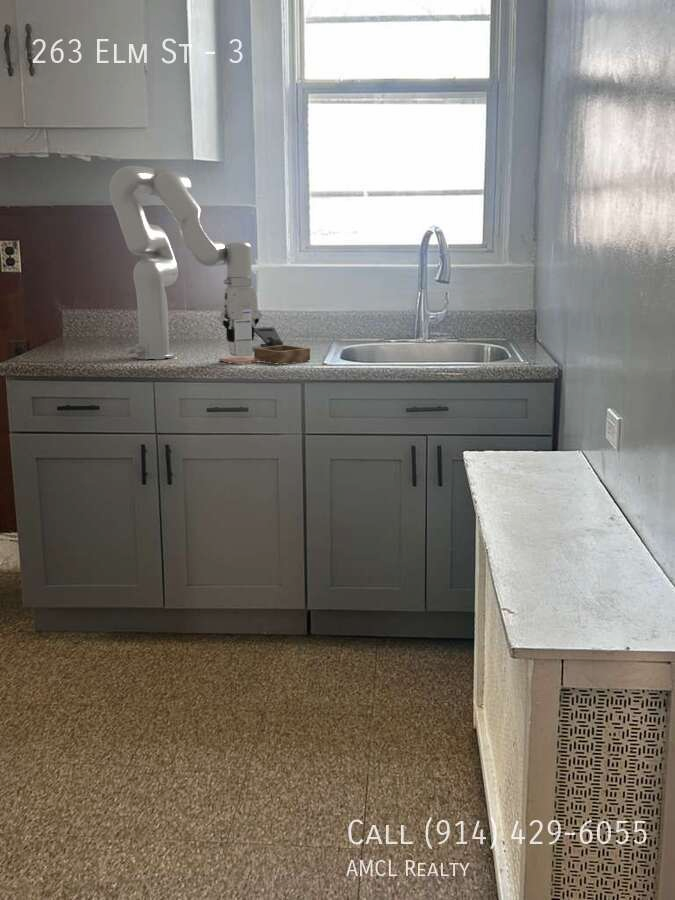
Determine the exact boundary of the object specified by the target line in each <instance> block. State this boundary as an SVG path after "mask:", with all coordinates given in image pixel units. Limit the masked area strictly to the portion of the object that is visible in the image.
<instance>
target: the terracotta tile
mask: <svg viewBox="0 0 675 900" xmlns="http://www.w3.org/2000/svg"><path fill="white" fill-rule="evenodd" d="M219 361H223V362H222V363H224V362H231V363H237V364H242V363H249V362H257V361H261V359H259V358H254V356H227V357H219V358H218V362H219ZM231 363H230V364H231ZM237 364H236V365H237ZM242 365H243V364H242Z"/></svg>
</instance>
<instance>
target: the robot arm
mask: <svg viewBox="0 0 675 900" xmlns="http://www.w3.org/2000/svg"><path fill="white" fill-rule="evenodd" d="M192 186H193V185H192V182H191V180H190V178H189V177H188V176H187V175H186V174H184V173H182V172H179V171H172V170H165V169H159V168H153V167H147V166H138V165H128V166H124V167H121V168H119V169H118V170H117V171H116V172H115V173H114V174H113V175H112V177H111V180H110V183H109V189H108V190H109V191H108V192H109V197H110V201H111V204H112V206H113V209H114V211H115V214H116V217H117V219H118V222H119V225H120V229H121V231H122V234H123V237H124V240H125V243H126V246H127V249H128V250H129V251H130V253H131V254H133V255H137V256H145V258H143V259H141V260H140V261H138V262H137V263H136V264H135V266H134V269H133V278H132V279H133V282H134V288H135V293H136V306H137V325H138V327H137V329H138V343H135V346H132V347H126V349H125V352H126V354H128V355H129V354H131V355H132V354H134V358H135V359H136V360H137V359H139V360H148V359H155V360H166V359H165V358H168V359H171V358H174V357H175V353H174V352H173V351H170V336H169V335H170V334H169V330H170V329H169V309H168V298H167V297H168V296H167V293H166V289H165V287H169V286H171V285H173V284H174V283H175V282H176V281H177V279H178V277H179V268H178V264H177V260H176V257H175V254H174V252H173V251H174V250H173V249H172V246H171V243H170V240H169V238H168V236H167V233H166V232H165V230H164V229H162V227H160V226H159V225H156V224H150V223H149V222H148V219H147V216H146V213H145V210H144V208H143V206H142V204H141V202H140V201H139V199H138V198H137V195H147V196H148V195H149V196H156V197H157V198H159V199H160V201H161V202H162V204H163V206H165V207H166V209H167V211H168V212H169V213H170V214H171V216H172V218H173V219H174V220H175V221H176V223H177V225H178V228H179V232H180V233H179V234H180V235H181V239H182V240H183V243H184V244H185V247H186V248H187V249H188V251H189V252H190V254H191V255H192V256H193V257H194V259H195V260H196V261H197V262H198V263H199V264H201V265H202V266H204V267H217V266H218V267H219V266H225V265H226V275H227V276H226V279H223V284H224V285H226V286H227V287H225V290H224V295H223V306H222V307H223V308H222V310H221V311H220V313H219V314H218V315H217V316H216V319H217V320H218V321H219V322H220V323H221V325H222V326H223V327H224V329H225V330H226V331H225V332H226V339H227V340H226V341H227V342H228V343H229V342H234V329H232V327H233V320H240V319H243V310H244V309H250V310H251V328H252V341H254V340H255V339H254V338H255V332H254V328H257V326H256V325H257V324H258V323H259V321H260V320H261V319H262V318H263V316H264V314H263V313H262V312H261V311H260V310H259V309H258V300H257V294H256V289H255V286H252V285H253V284H252V281H253V280H252V274H253V273H252V271H253V270H252V246H251V244H250V243H249V242H246V241H231V242H229V241H224V240H211V239H210V238H209V236H208V235H207V233H205V230H204V229H203V227H202V225H201V222H200V217H201V214H202V209H201V207H200V205H199V204H198V203H197V201H196V200H195V199H194V197H193V196H192V194H191V193H192V189H193V187H192ZM241 311H242V312H241Z"/></svg>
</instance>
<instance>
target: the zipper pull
mask: <svg viewBox="0 0 675 900" xmlns="http://www.w3.org/2000/svg"><path fill="white" fill-rule="evenodd" d="M254 334H255V335H257V336H258V337H259V338H260V339H261V340H262V341H263V342H264V343H261V344H260V346H259V348H262V347H270V346H279V345H284V342H283V340H282V339H281V338H280V336H279V334H278V332H277V330H276V328H275V327H272V326H271V327H268V326H266V327H263V326H262V327H255V328H254Z"/></svg>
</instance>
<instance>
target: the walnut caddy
mask: <svg viewBox="0 0 675 900" xmlns="http://www.w3.org/2000/svg"><path fill="white" fill-rule="evenodd" d="M253 350H254V351H253V354H254V355H253V357H254V358H259V359H261V361H265V362H271V363H278V364H284V363H292V364H294V363H293V362H300V363H302V362H301V361H307V362H309V361H308V360H310V361H311V348H309V347H302V346H297V345H296V346H293V345H287V344H283V345H279V346H270V347H262V348H260V347H256V348H255V347H254V348H253Z"/></svg>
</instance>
